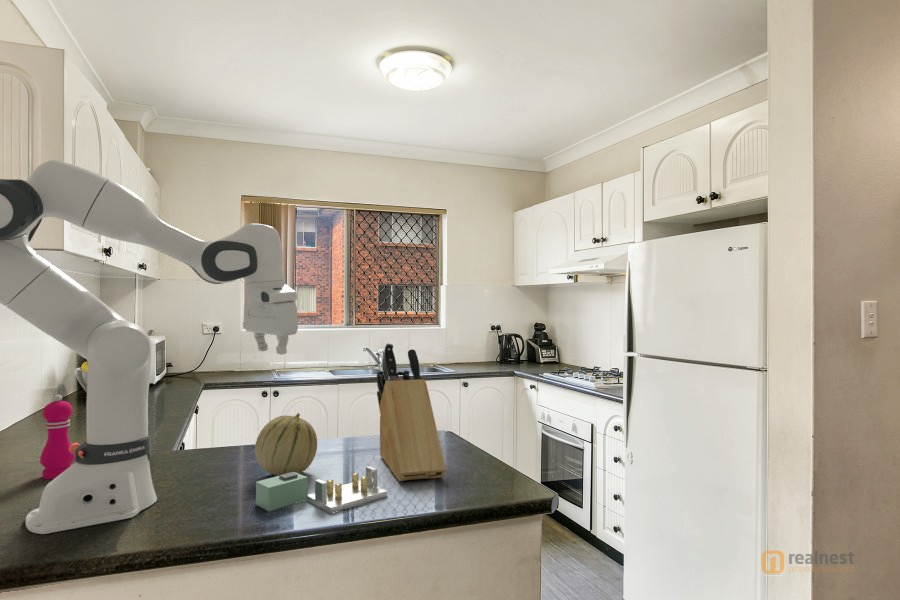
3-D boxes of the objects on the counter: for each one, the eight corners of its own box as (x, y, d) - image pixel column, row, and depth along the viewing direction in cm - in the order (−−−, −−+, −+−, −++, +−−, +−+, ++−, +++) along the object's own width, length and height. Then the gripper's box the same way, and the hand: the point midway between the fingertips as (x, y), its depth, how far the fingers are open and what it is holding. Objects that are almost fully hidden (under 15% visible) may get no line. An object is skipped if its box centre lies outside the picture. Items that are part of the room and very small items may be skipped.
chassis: (330, 513, 109) (330, 487, 109) (306, 500, 116) (306, 476, 116) (387, 496, 119) (387, 472, 119) (361, 485, 126) (361, 462, 126)
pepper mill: (72, 468, 140) (72, 391, 140) (78, 475, 135) (78, 394, 135) (37, 475, 135) (37, 394, 135) (42, 482, 130) (42, 398, 130)
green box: (269, 512, 111) (269, 484, 111) (256, 505, 114) (255, 478, 114) (307, 500, 117) (307, 474, 117) (294, 494, 121) (294, 469, 121)
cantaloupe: (243, 476, 133) (243, 415, 133) (295, 462, 144) (294, 406, 144) (277, 489, 123) (277, 423, 123) (330, 473, 134) (329, 413, 134)
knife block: (411, 444, 161) (411, 340, 161) (447, 482, 128) (446, 350, 128) (374, 448, 158) (373, 341, 158) (400, 487, 124) (399, 352, 124)
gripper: (234, 294, 131) (240, 351, 132) (274, 295, 117) (280, 358, 118) (259, 292, 136) (264, 346, 137) (300, 292, 121) (306, 353, 122)
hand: (272, 352), depth 127 cm, fingers open, 8 cm apart
